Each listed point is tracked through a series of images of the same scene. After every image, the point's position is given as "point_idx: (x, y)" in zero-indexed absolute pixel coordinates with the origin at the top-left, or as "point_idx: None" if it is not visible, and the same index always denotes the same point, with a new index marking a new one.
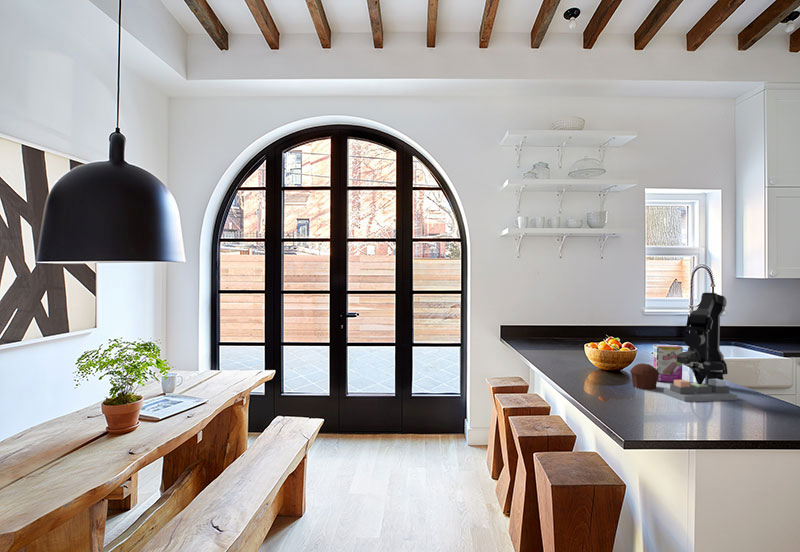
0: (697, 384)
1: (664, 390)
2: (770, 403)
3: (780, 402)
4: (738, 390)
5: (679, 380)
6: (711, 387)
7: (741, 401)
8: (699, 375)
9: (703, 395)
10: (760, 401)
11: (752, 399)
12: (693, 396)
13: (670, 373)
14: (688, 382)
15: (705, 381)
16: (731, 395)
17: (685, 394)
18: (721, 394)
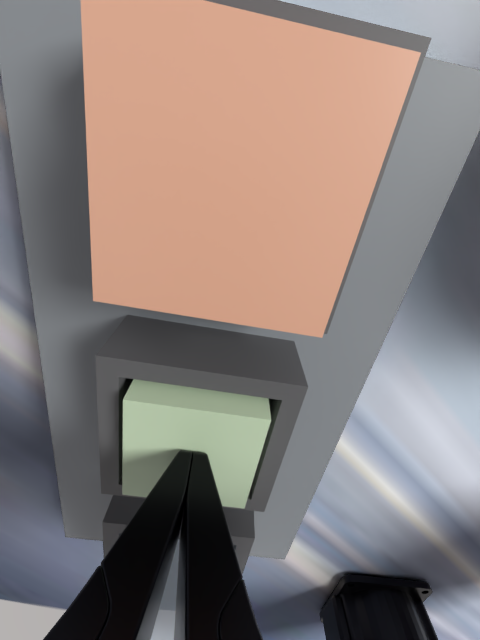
0: (176, 426)
1: (466, 77)
2: (6, 565)
3: (29, 600)
4: (265, 618)
5: (279, 158)
6: (104, 485)
7: (47, 494)
8: (75, 598)
9: (42, 300)
10: (47, 559)
11: (91, 559)
12: (15, 147)
13: None
14: (97, 251)
15: (427, 619)
16: (63, 505)
17: None
18: (79, 468)
